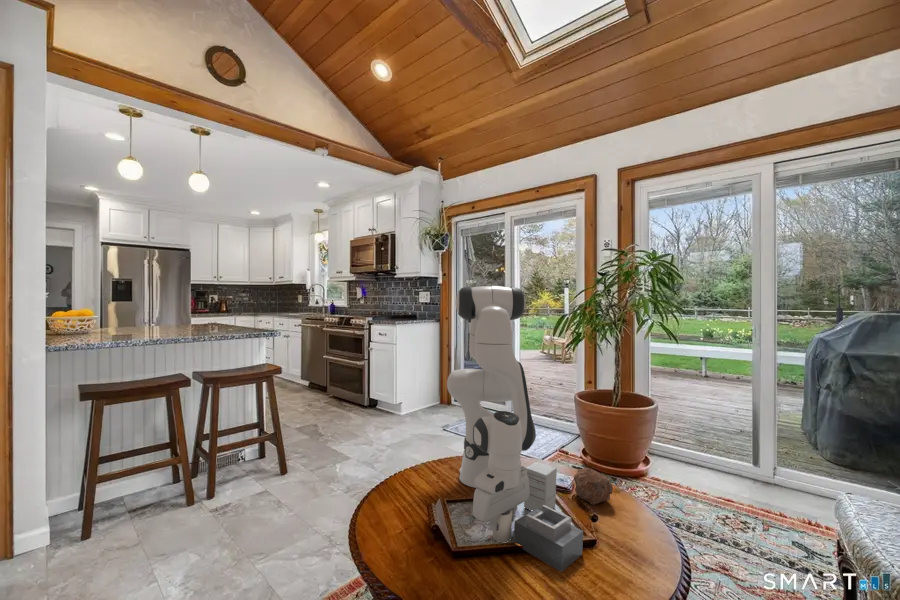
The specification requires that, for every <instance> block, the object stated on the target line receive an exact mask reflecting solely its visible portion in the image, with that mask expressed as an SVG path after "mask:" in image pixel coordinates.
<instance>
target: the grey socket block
mask: <svg viewBox="0 0 900 600" xmlns="http://www.w3.org/2000/svg"><path fill="white" fill-rule="evenodd" d="M513 529H514V530H513V544H514V543H518V544H520V545H522V546H523V549H522V550H523V551H524V552H527V554H530V555H532V556H534V557H535V558H537V559H538V560H540V561H541V562H543V563H545V564H547V565H549V566H550V567H552V568H554V569H556V570H557V571H559V572H560V573H563V571H565V570H566V569H567V568H568V567H570V566H571V565H572V564H574V562H575V561H576V560H578V559H579V558H580V557H582V556H583V548H584V547H583V545H584V544H583V542H584V530H582V529H580V528H579V527H578V528H577V527H576V526H574V525H572V517H571V516H568V515H567V514H565V513H562V512H560V511H558V510H556V509H555V508H554V509H552V508H550V507H547V506H545V505H543V506H542V511H541V510H538V509H535V510H533V511H529V512H528V513H526V514H524V515H523V516H521V517H520V518H518V519H516V520H514V526H513Z"/></svg>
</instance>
